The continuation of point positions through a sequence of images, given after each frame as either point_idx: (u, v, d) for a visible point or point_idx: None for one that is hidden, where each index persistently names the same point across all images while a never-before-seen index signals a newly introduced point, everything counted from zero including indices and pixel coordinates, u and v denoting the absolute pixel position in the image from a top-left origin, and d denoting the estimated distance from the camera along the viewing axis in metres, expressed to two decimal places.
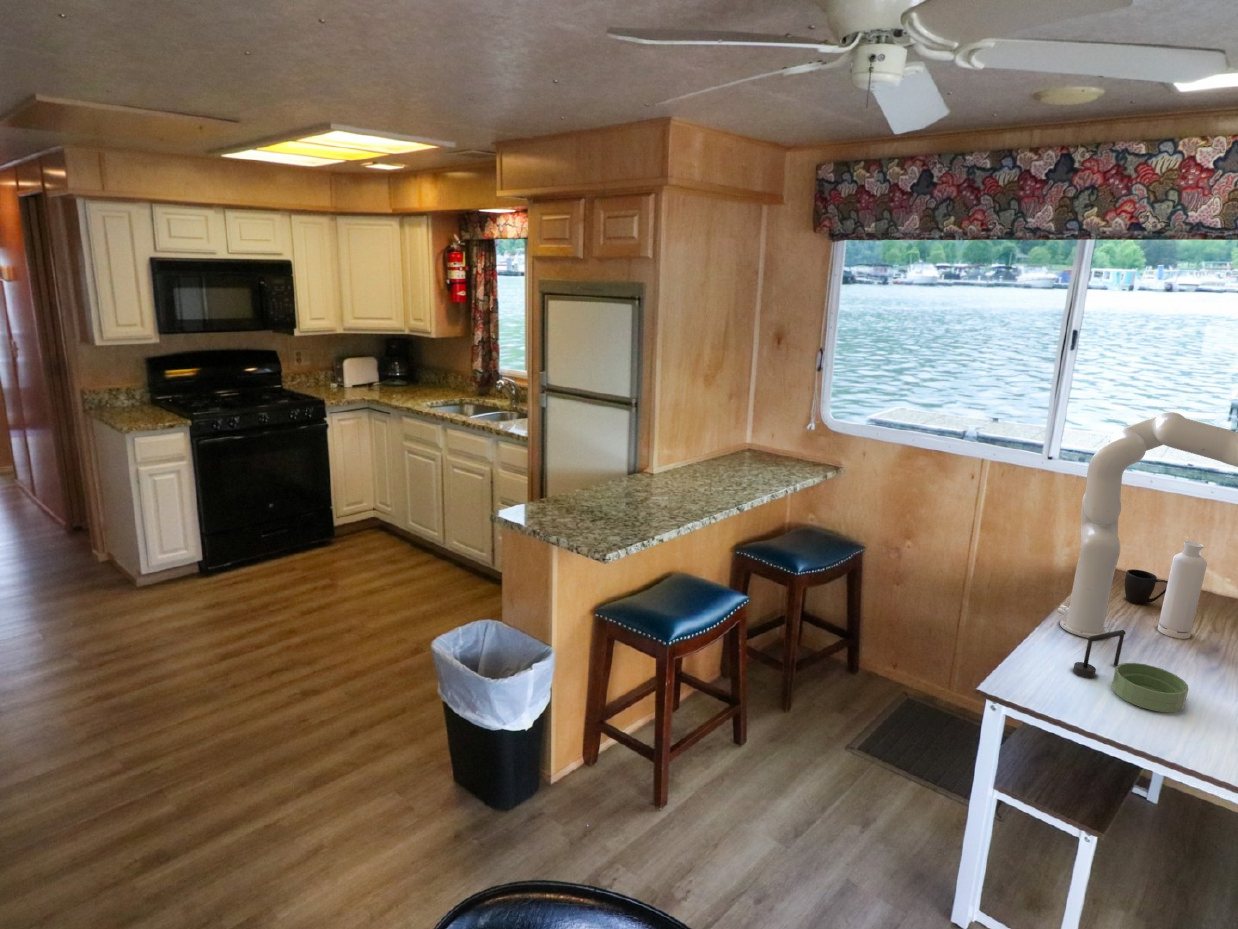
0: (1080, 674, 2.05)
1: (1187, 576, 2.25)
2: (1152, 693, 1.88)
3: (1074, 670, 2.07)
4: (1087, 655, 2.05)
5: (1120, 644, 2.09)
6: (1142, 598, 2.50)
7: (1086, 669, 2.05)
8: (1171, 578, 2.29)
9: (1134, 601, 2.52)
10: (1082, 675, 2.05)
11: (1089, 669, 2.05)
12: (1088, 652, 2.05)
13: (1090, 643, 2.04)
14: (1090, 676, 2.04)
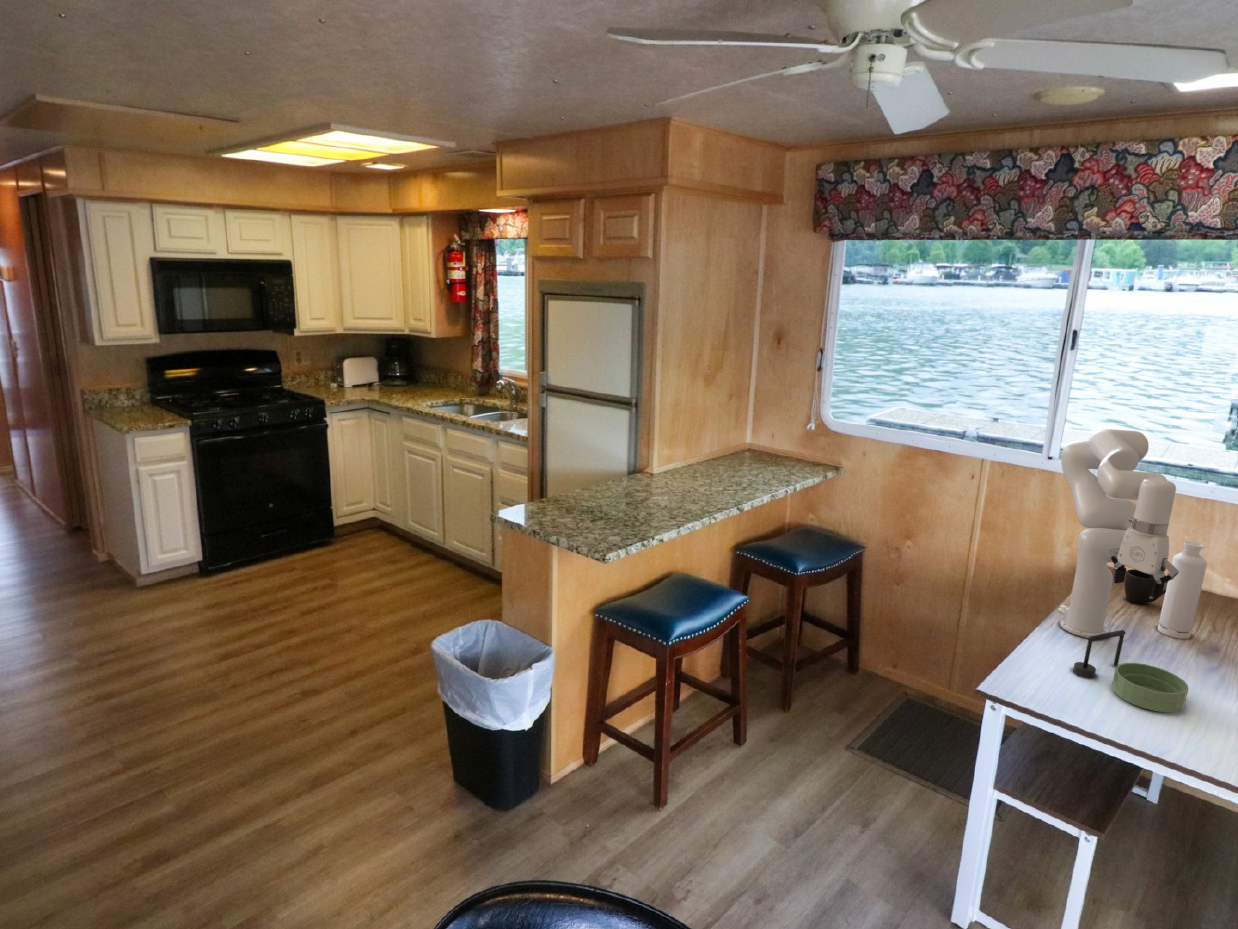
0: (1080, 674, 2.05)
1: (1187, 576, 2.25)
2: (1152, 693, 1.88)
3: (1074, 670, 2.07)
4: (1087, 655, 2.05)
5: (1120, 644, 2.09)
6: (1142, 598, 2.50)
7: (1086, 669, 2.05)
8: None
9: (1134, 601, 2.52)
10: (1082, 675, 2.05)
11: (1089, 669, 2.05)
12: (1088, 652, 2.05)
13: (1090, 643, 2.04)
14: (1090, 676, 2.04)
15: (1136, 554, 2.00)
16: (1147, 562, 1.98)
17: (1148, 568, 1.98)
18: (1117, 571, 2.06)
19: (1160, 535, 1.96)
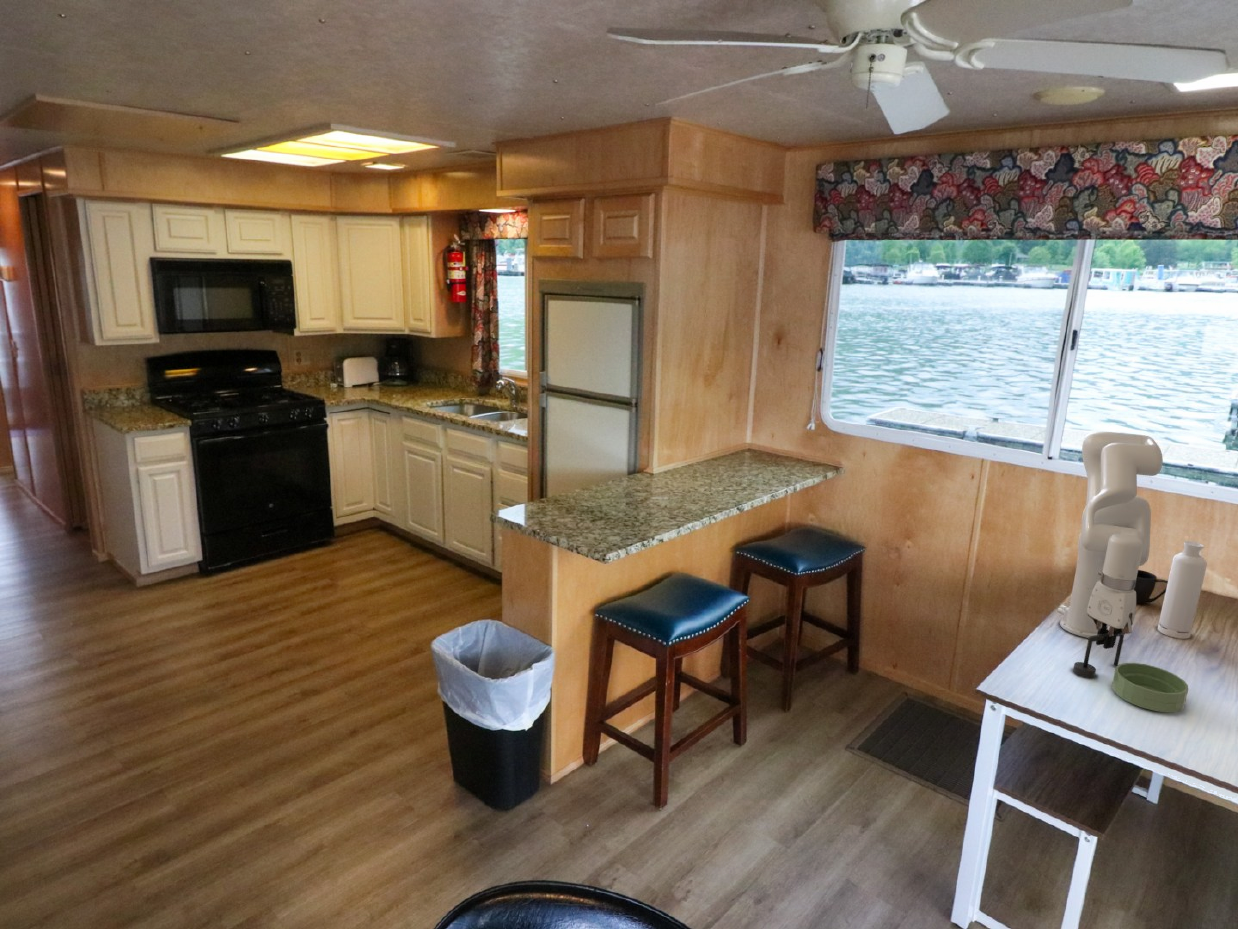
0: (1080, 674, 2.05)
1: (1187, 576, 2.25)
2: (1152, 693, 1.88)
3: (1074, 670, 2.07)
4: (1087, 655, 2.05)
5: (1120, 644, 2.09)
6: (1142, 598, 2.50)
7: (1086, 669, 2.05)
8: (1171, 578, 2.29)
9: None
10: (1082, 675, 2.05)
11: (1089, 669, 2.05)
12: (1088, 652, 2.05)
13: (1090, 643, 2.04)
14: (1090, 676, 2.04)
15: (1104, 608, 2.04)
16: (1114, 616, 2.01)
17: (1115, 622, 2.01)
18: (1099, 633, 2.07)
19: (1127, 590, 1.99)
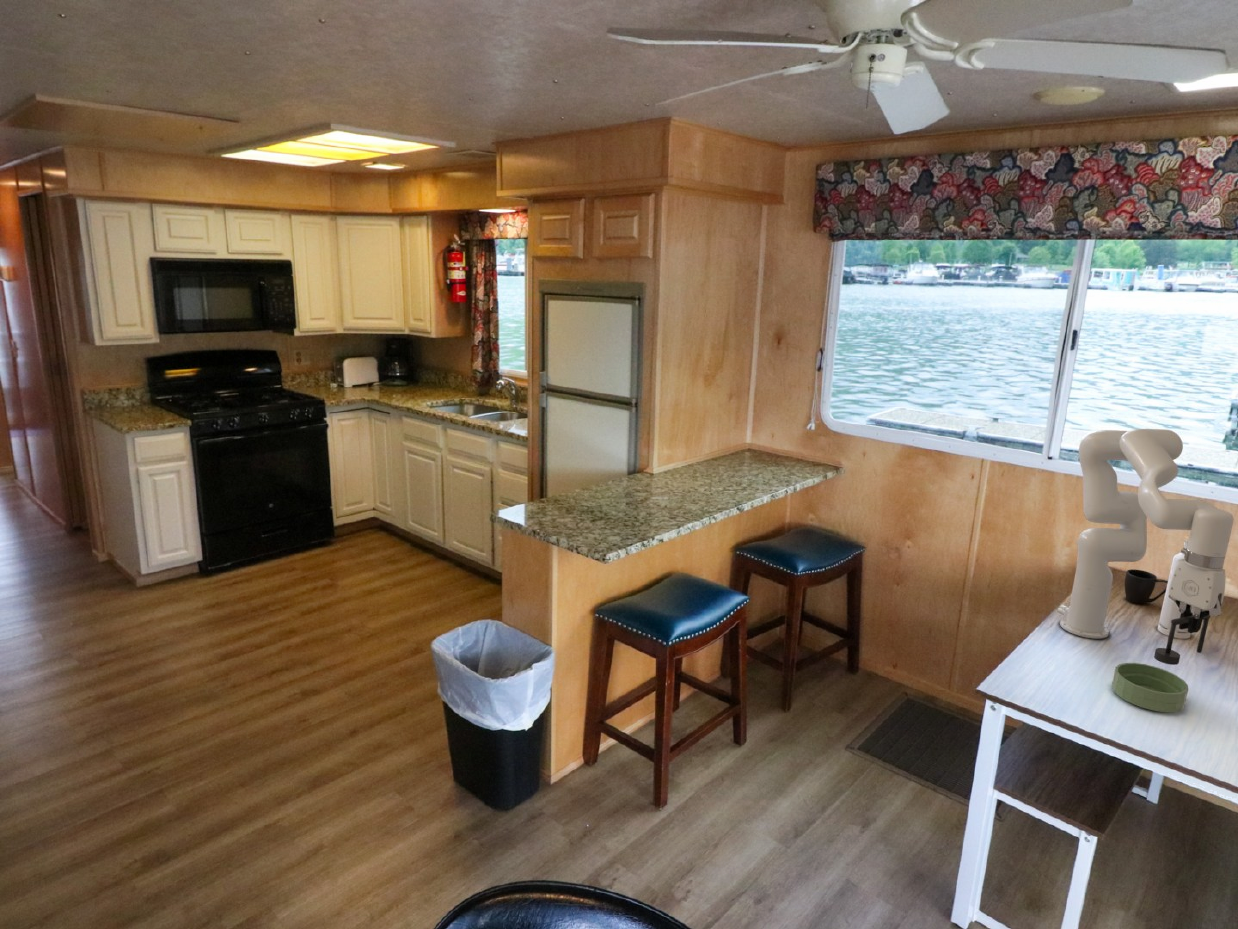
0: (1163, 660, 1.89)
1: None
2: (1152, 693, 1.88)
3: (1156, 656, 1.91)
4: (1170, 640, 1.89)
5: (1204, 628, 1.93)
6: (1142, 598, 2.50)
7: (1169, 655, 1.89)
8: (1171, 578, 2.29)
9: (1134, 601, 2.52)
10: (1165, 661, 1.89)
11: (1172, 654, 1.89)
12: (1171, 636, 1.89)
13: (1174, 626, 1.88)
14: (1174, 662, 1.88)
15: (1189, 588, 1.88)
16: (1201, 597, 1.85)
17: (1202, 603, 1.85)
18: (1182, 616, 1.91)
19: (1216, 569, 1.83)
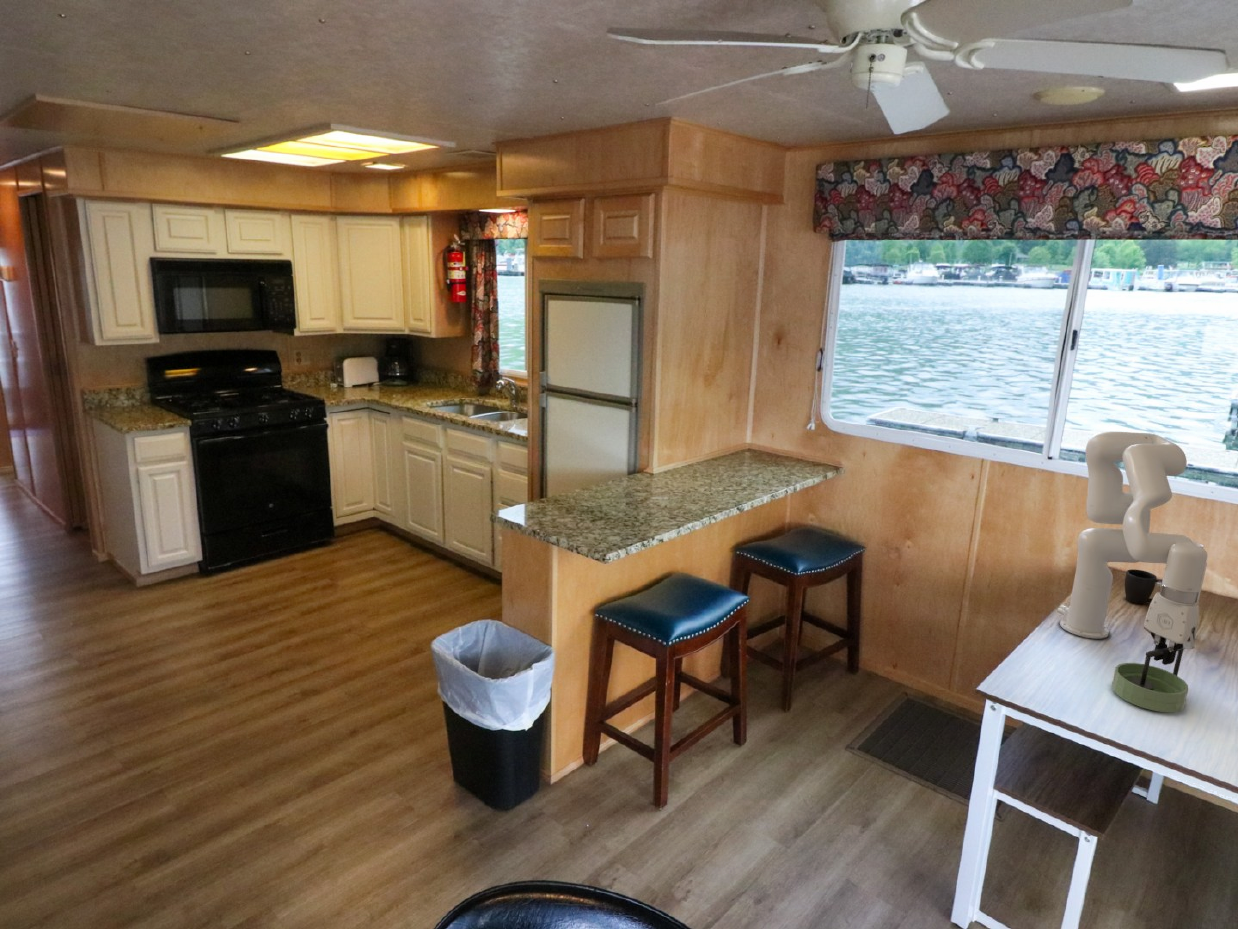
0: None
1: None
2: (1152, 693, 1.88)
3: None
4: (1145, 671, 1.93)
5: (1179, 659, 1.97)
6: (1142, 598, 2.50)
7: (1144, 686, 1.93)
8: None
9: (1134, 601, 2.52)
10: None
11: (1147, 686, 1.93)
12: (1146, 668, 1.93)
13: (1148, 659, 1.92)
14: None
15: (1164, 621, 1.92)
16: (1175, 631, 1.89)
17: (1176, 637, 1.89)
18: (1157, 648, 1.95)
19: (1189, 603, 1.87)
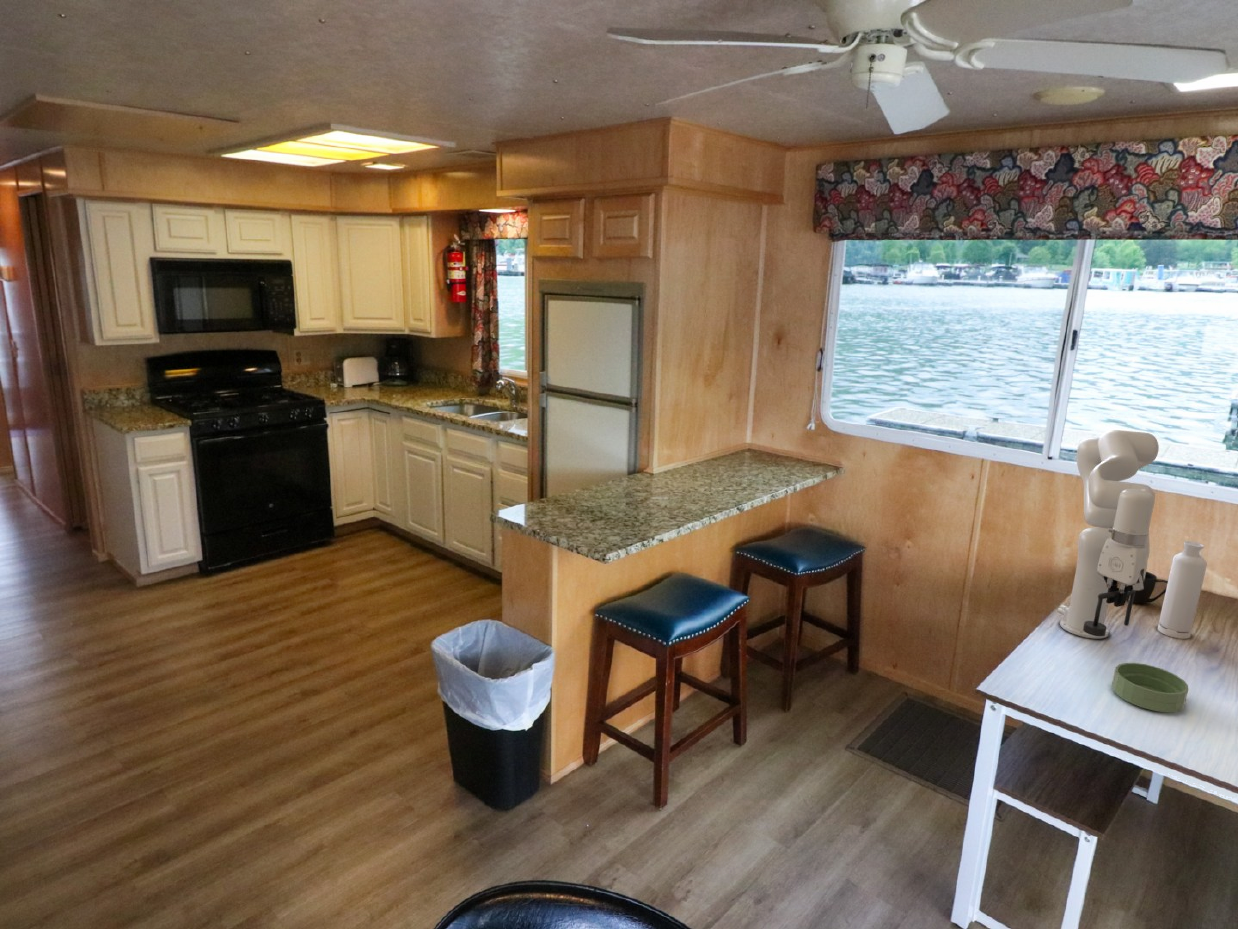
0: (1090, 632, 2.02)
1: (1187, 576, 2.25)
2: (1152, 693, 1.88)
3: (1084, 629, 2.03)
4: (1097, 613, 2.02)
5: (1131, 602, 2.06)
6: (1142, 598, 2.50)
7: (1096, 627, 2.01)
8: (1171, 578, 2.29)
9: (1134, 601, 2.52)
10: (1092, 633, 2.01)
11: (1099, 627, 2.02)
12: (1098, 610, 2.01)
13: (1100, 600, 2.01)
14: (1101, 634, 2.01)
15: (1115, 564, 2.00)
16: (1125, 573, 1.98)
17: (1126, 579, 1.98)
18: (1109, 591, 2.03)
19: (1138, 546, 1.96)
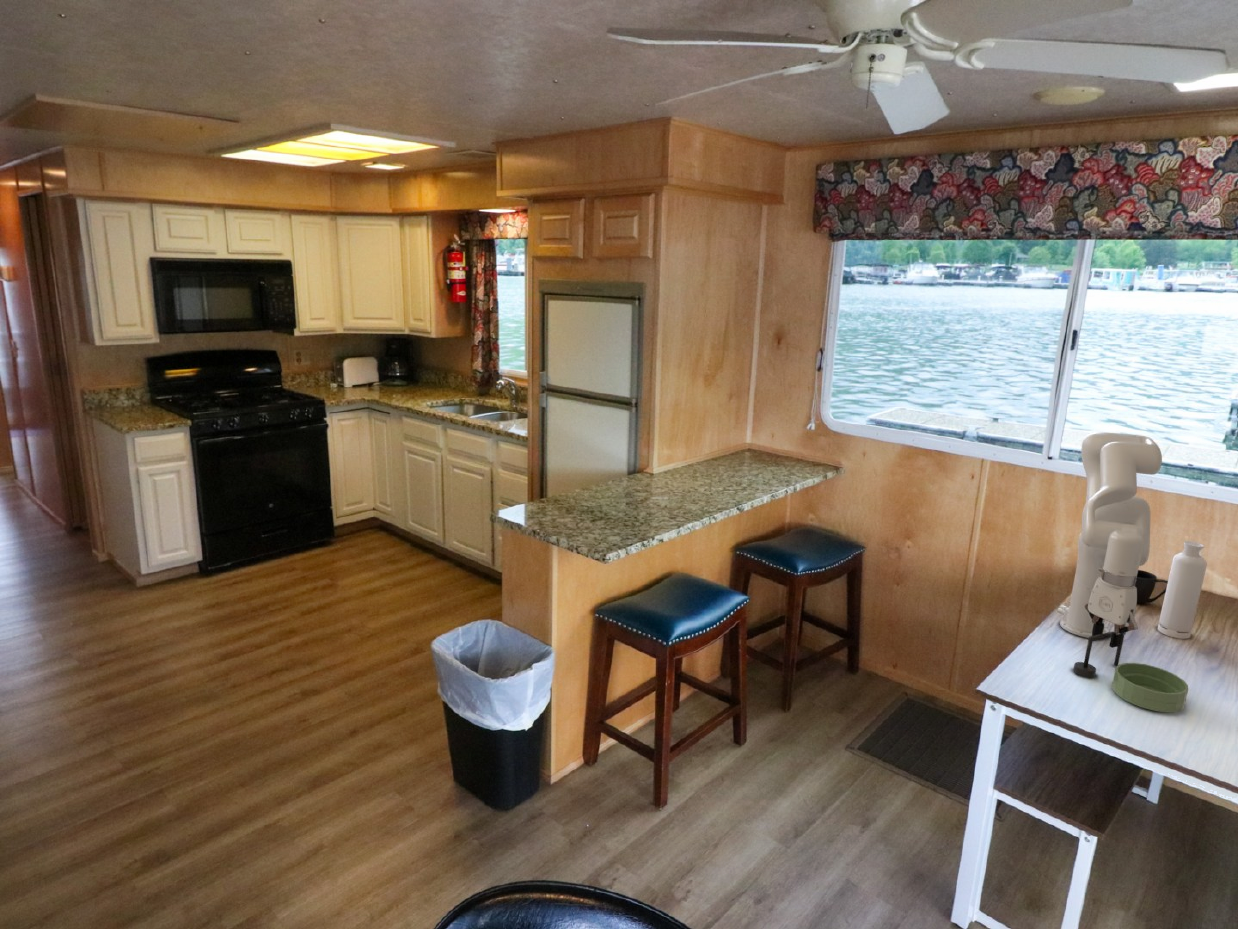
0: (1080, 674, 2.05)
1: (1187, 576, 2.25)
2: (1152, 693, 1.88)
3: (1074, 670, 2.07)
4: (1087, 655, 2.05)
5: (1120, 644, 2.09)
6: (1142, 598, 2.50)
7: (1086, 669, 2.05)
8: (1171, 578, 2.29)
9: None
10: (1082, 675, 2.05)
11: (1089, 668, 2.05)
12: (1088, 652, 2.05)
13: (1090, 643, 2.04)
14: (1090, 676, 2.05)
15: (1105, 604, 2.04)
16: (1115, 613, 2.01)
17: (1116, 619, 2.01)
18: (1094, 627, 2.08)
19: (1128, 587, 1.99)
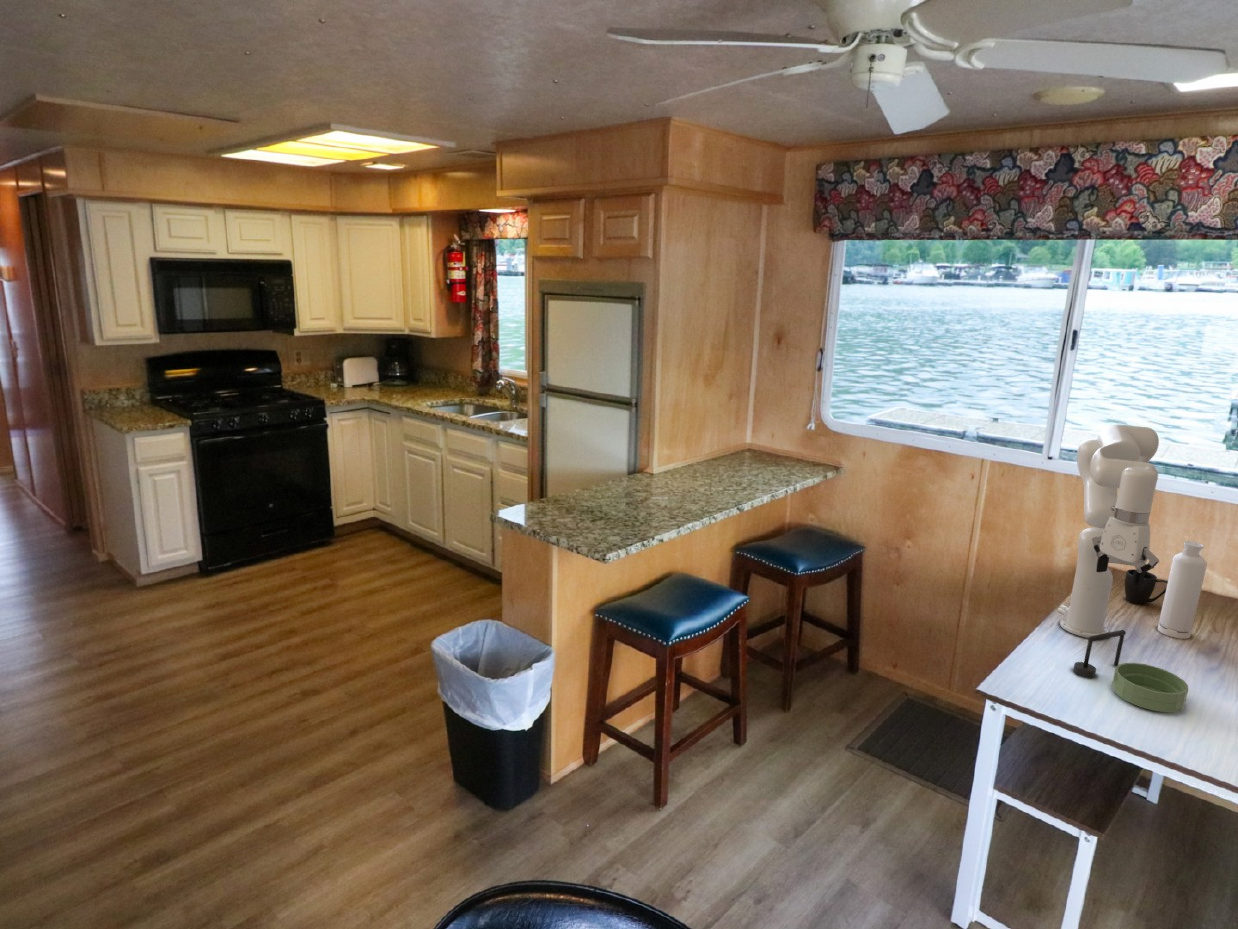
0: (1080, 674, 2.05)
1: (1187, 576, 2.25)
2: (1152, 693, 1.88)
3: (1074, 670, 2.07)
4: (1087, 655, 2.05)
5: (1120, 644, 2.09)
6: (1142, 598, 2.50)
7: (1086, 669, 2.05)
8: (1171, 578, 2.29)
9: (1134, 601, 2.52)
10: (1082, 675, 2.05)
11: (1089, 668, 2.05)
12: (1088, 652, 2.05)
13: (1090, 643, 2.04)
14: (1090, 676, 2.05)
15: (1117, 543, 1.99)
16: (1128, 551, 1.97)
17: (1128, 557, 1.97)
18: (1099, 560, 2.06)
19: (1141, 524, 1.95)
